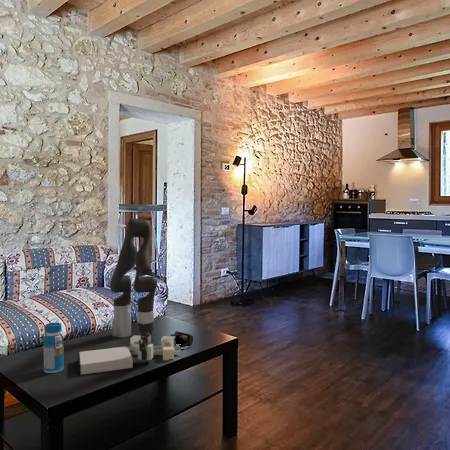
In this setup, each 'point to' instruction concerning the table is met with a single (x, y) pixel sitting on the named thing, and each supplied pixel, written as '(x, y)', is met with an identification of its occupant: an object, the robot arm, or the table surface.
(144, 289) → the robot arm
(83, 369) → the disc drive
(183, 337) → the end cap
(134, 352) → the rail
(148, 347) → the module
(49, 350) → the beverage bottle
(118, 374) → the table surface
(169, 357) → the block
